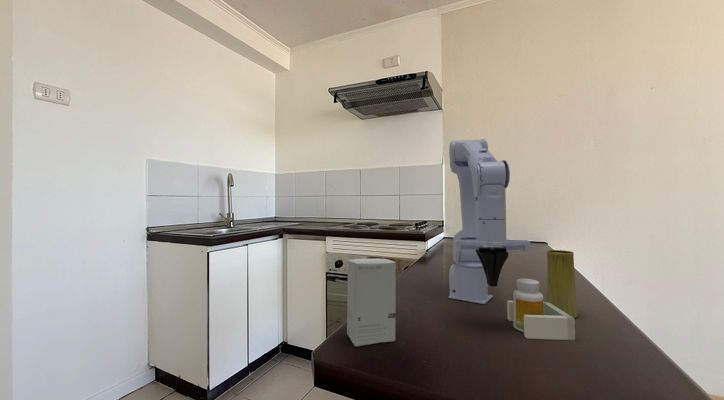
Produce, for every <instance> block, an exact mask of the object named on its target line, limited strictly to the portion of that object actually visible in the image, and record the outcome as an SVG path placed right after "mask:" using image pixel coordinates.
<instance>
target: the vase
mask: <svg viewBox="0 0 724 400" xmlns="http://www.w3.org/2000/svg"><path fill="white" fill-rule="evenodd" d="M574 258H575V256H574V251H570V250H562V249H548V250H546V261H547V263H546V264H547V266H546V267H547V268H546V269H547V271H546V302H549V303H551V304H552V305H554V306H555V307H557V308H559V309H560V310H562V311H563V312H565V313H567V314H568V315H570V316H571V317H573V318H574V319H575V318H577V317H578V316H579V315H578V306H577V305H578V304H577V292H576V290H577V289H576V276H575V259H574Z"/></svg>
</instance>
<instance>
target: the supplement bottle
mask: <svg viewBox="0 0 724 400" xmlns="http://www.w3.org/2000/svg"><path fill="white" fill-rule="evenodd" d="M516 287H517V289H515V290H514V291H513V293H512V301H513V321H512V325H513V328H514V329H515V330H518V331H519V332H521V333H524V315H544V309H543V301H544V295H543V294H542V292H540V291H539V290H540V281H538V280H536V279H531V278H518V279H516Z"/></svg>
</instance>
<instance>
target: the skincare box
mask: <svg viewBox="0 0 724 400" xmlns="http://www.w3.org/2000/svg"><path fill="white" fill-rule="evenodd" d="M396 270H397V268H396V261H393V260H391V259H387V258H380V257H379V258H351V259H347V303H346V304H347V306H346V307H347V313H346V314H347V315H346V316H347V317H346V334H347V336H348V337H349V339H350V341H351V343H352V345H353V347H355V348H356V347H361V346H368V345H373V344H381V343H387V342H388V343H391V342H395V341H396V289H397V288H396V287H397V286H396V285H397V284H396V282H397V281H396V280H397V279H396V278H397V277H396V276H397V275H396V274H397V273H396Z"/></svg>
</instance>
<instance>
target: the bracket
mask: <svg viewBox="0 0 724 400" xmlns="http://www.w3.org/2000/svg"><path fill="white" fill-rule="evenodd" d="M506 305H507V306H506V307H507V308H506V309H507V310H506V311H507V318H506V319H507V320H508V321H509V322H513V300H506ZM543 309H544V315H524V332H523V336H524V337H525V338H526V339H529V340H530V339H531V340H557V341H558V340H560V341H561V340H562V341H576V328H575V326H576V325H575V324H576V322H575V318H573V317H571V316H570V315H568V314H567V313H565V312H563V311H562V310H560V309H559V308H557V307H555V306H554V305H552V304H551V303H549V302H547V301H544V300H543Z"/></svg>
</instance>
